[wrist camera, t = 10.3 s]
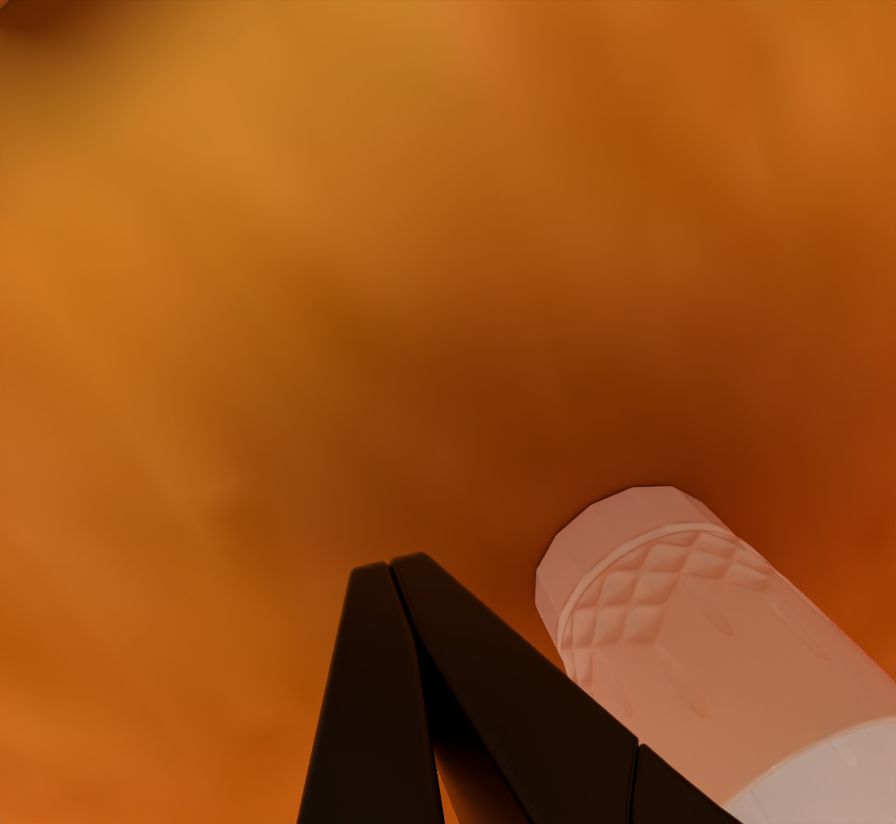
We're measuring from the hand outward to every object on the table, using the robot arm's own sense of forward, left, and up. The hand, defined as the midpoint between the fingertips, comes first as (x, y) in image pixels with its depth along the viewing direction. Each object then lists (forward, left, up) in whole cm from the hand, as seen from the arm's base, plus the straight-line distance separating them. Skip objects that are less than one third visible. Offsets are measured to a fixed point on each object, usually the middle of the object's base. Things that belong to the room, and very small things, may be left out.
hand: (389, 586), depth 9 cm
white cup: (-1, +16, -12) cm, 20 cm away
